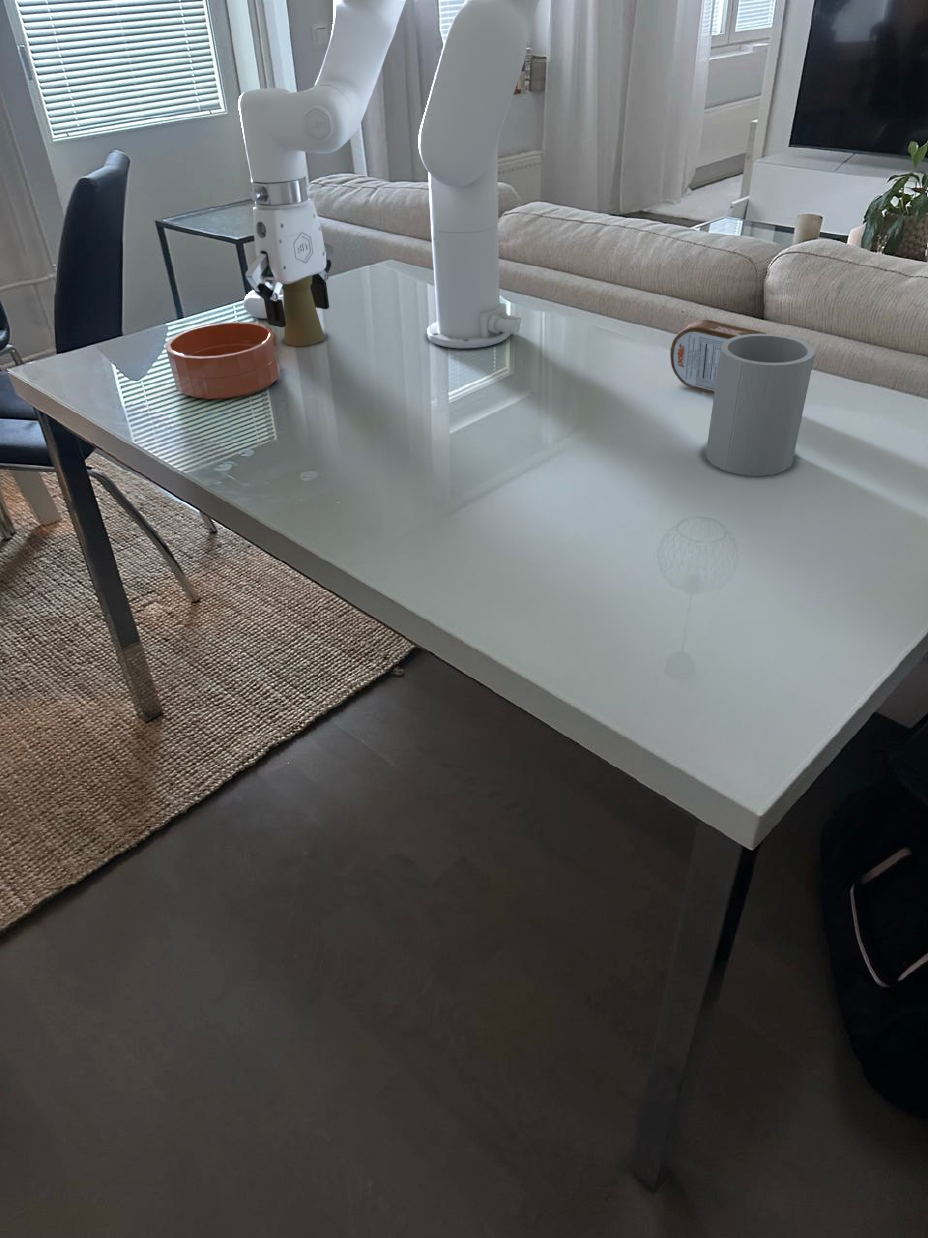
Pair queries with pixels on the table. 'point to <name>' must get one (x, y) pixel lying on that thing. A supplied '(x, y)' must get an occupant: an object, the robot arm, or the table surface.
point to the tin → (701, 352)
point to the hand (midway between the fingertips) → (299, 316)
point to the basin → (224, 360)
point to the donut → (257, 304)
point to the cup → (758, 403)
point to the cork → (301, 314)
